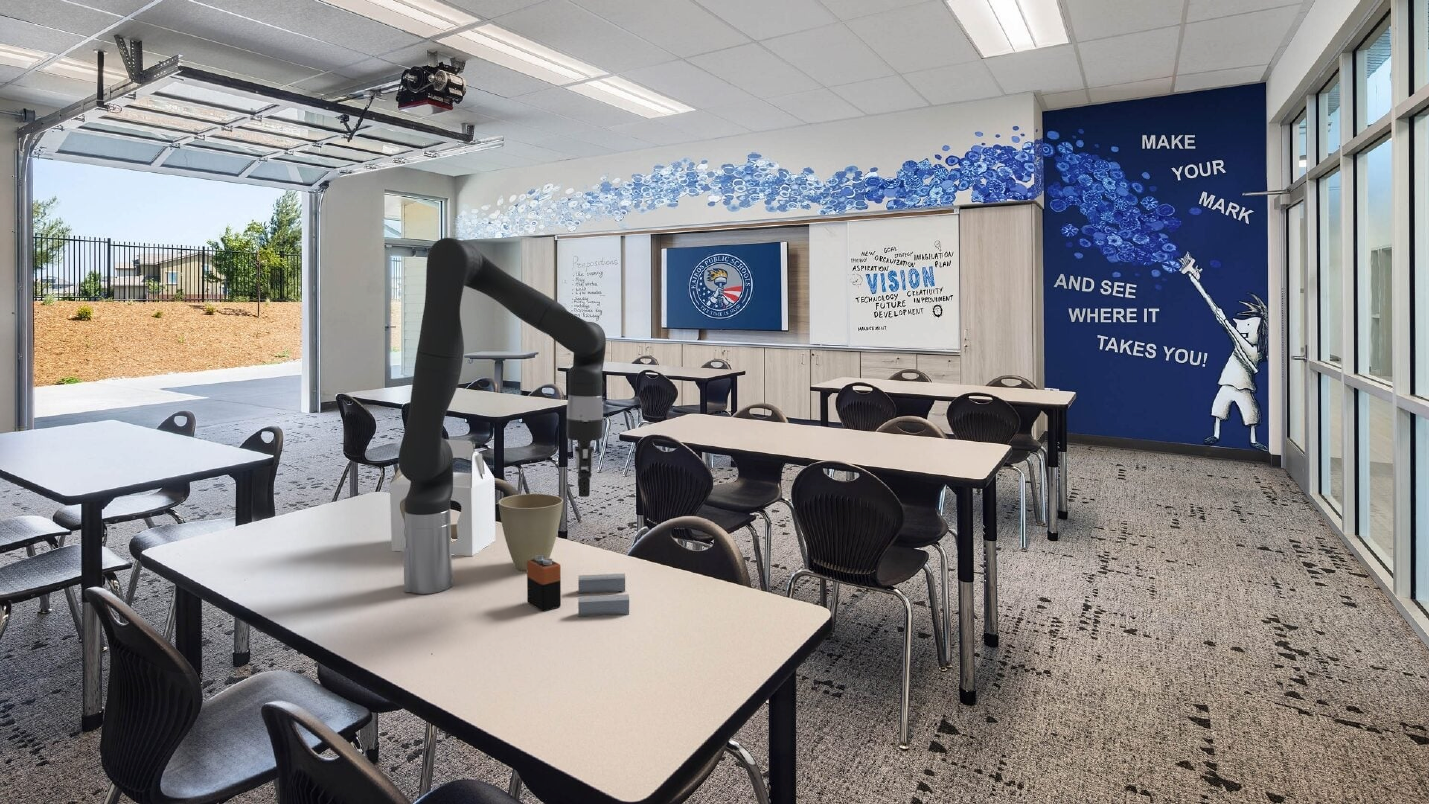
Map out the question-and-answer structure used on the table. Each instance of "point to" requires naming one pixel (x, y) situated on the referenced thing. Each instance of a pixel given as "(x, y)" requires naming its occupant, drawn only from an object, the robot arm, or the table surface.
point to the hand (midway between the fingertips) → (583, 491)
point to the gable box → (467, 490)
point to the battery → (543, 583)
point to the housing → (602, 603)
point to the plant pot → (530, 525)
